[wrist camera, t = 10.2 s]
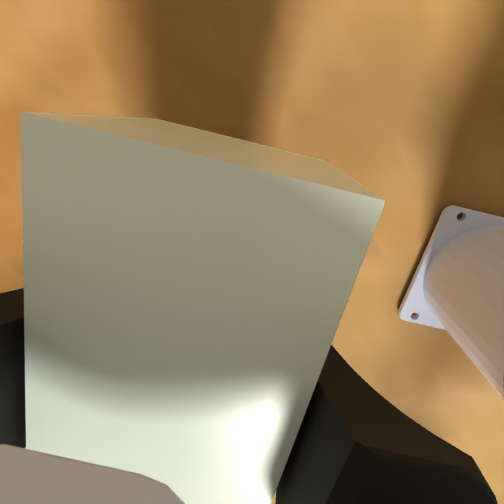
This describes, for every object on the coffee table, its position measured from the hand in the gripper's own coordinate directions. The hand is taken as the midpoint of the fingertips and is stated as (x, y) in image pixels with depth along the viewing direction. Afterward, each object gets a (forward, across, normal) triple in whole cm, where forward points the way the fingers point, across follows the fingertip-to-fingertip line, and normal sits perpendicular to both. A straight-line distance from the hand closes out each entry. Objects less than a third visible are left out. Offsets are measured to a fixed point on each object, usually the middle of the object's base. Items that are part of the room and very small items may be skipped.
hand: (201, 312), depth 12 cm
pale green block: (+2, 0, 0) cm, 2 cm away
